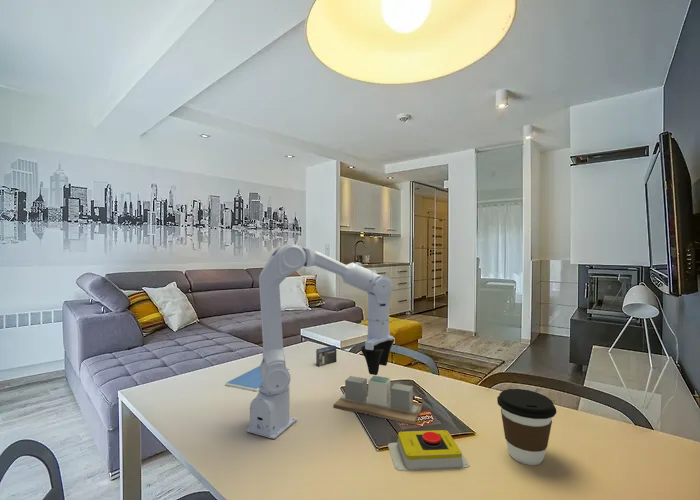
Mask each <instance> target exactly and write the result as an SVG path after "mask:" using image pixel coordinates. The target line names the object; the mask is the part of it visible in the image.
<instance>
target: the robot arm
mask: <svg viewBox="0 0 700 500" xmlns="http://www.w3.org/2000/svg"><path fill="white" fill-rule="evenodd" d="M362 265H363V264H362V263H360V262H350V263H348V264H344V263H342V262H340V261H338V260H336V259H335V258H332V257H330V256H328V255H325V254H323V253H322V252H320V251H317V250H316V249H313V248H312V249H311V248H308V247H304V246H300V245H299V244H296V243H295V244H294V243H293V244H292V243H290V244H286V243H285V244H282V245H279V247H278V248H276V249H275V250H274V251H273V252H272V253H271V254H270V256H269V259H267V262H266V264H265V265H264V267H263V268H262V270H261V271H260V274H259V277H258V283H259V299H260V300H259V301H260V315H261V316H260V317H261V319H260V320H261V332H262V333H261V335H262V361H261V363H260V365H259V366H260V374H261V376H262V379H263V381H262V383H261V385H260V386H259V391H257V395H256V396H255V398H253V399H252V400H251V402H250V404H249V427H248V428H247V429H246V431H247V432H248V433H251V434H255V435H258V436H262V437H266V438H269V439H273V440H274V439H277V437H279V436H280V435H281V434H282V433H283V432H285V431H286V430H287V429H288V428H290V427H291V426H292V425H293V424H294V423H296V422H297V421H298V418H297V417H294V416H290V412H291V411H290V403H291V402H290V400H291V399H290V391H291V390H290V383H291V374H290V372H289V371H288V370H287V369H288V368H287V366H286V356H285V353H284V352H285V351H284V341H283V337H284V336H283V327H282V325H283V323H282V309H281V292H280V291H281V290H280V286H281V283H282V282H283V281H284V280H286V279H287V278H288V276H290V275H291V274H293V273H295V272H297V271H300V269H302V268H303V267H306V268H309V267H314V266H315V267H317V268H320V269H322V270H325V271H328V272H331V273H333V274H335V275H338V276H340V277H341V279H342V281H343V283H344V284H346V285H349V286H351V287H354V288H356V289H359V290H361V291H363V292H366V293H367V335H366V341H365V342H364V345H363V346H361V347H360V349H361V350H360V351H361V353H362V355H363V356H364V359H365V361H366V366H367V369H368V370H367V371H368V374H369V375H372V376H378V373H379V370H380V366H384V367H386V366H387V365H388V361H389V356H390V353H391V349H392V346H393V344H394V342H395V338H394V336H393V335H391V330H390V296H391V294H392V293H393V291H394V288H395V287H394V285H393V283H392V280H391V279H390V278H389V277H388V276H387V275H382V274H378V271H377V270H375V269H372V270H371V269H368V268H366V267H365V266H364V267H363V266H362Z"/></svg>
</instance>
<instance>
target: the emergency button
mask: <svg viewBox="0 0 700 500" xmlns="http://www.w3.org/2000/svg"><path fill="white" fill-rule="evenodd" d="M387 448H388V450H389V454H390V457H391V461H392V464H393V467H394V470H396V471H398V472H399V471H400V472H401V471H405V472H406V471H426V470H429V471H430V470H450V469H452V470H453V469H454V470H455V469H467V468H469V467H470V463H469V462H468V461H467V459H466V457H465V455H464V454H463V453H462V450H461V449H460V448H459V445H458V444H457V443H456V441H455V440H454V438H453V437H452V435H451V434H450V432H449V431H448V430H446V429H445V430H444V429H441V430H438V429H436V430H413V431H412V430H411V431H409V430H408V431H406V430H405V431H399V432H398V434H397V442H389V443H387Z"/></svg>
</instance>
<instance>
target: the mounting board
mask: <svg viewBox="0 0 700 500" xmlns="http://www.w3.org/2000/svg"><path fill="white" fill-rule="evenodd" d="M367 397H368V393H367ZM390 401H391V397H390ZM413 405H414V406H418V411H417V413H416V415H413V414H408V413H403V412H398V411H393V410H388V409H383V408H378V407H373V406H368V405H363V404H358V403H353V402H348V401H343V400H340V398H339V399H337V401H335V403H333V408H335V409H339V410H344V411H348V412H353V413H357V412H360V413H359V414H362V413H364V414H363V415H367V414H369V415H368V416H372V415H373V416H372V417H376V416H377V418H381V419H387V420H391V421H396V422H400V423H405V424H409V425H415V424H416V422H417V420H418V418H419V416H420V414H421V412H422V410H423V407H424V404H423V403H418V402H414V401H413Z"/></svg>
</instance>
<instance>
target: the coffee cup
mask: <svg viewBox="0 0 700 500" xmlns="http://www.w3.org/2000/svg"><path fill="white" fill-rule="evenodd" d="M496 398H497V405H498V406H499V407H500V413H501V420H502V427H503V433H504V439H505V440H506V446H507V451H508V453H509V455H510V456H511V458H512V459H513V460H515V461H517V462H518V463H521V464H523V465H529V466H538V465H540V464H541V463H542V462H543V460H544V459H545V456H546V450H547V448H548V445H549V438H550V434H551V429H552V423H553V421H552V418H554V417H555V416H556V415H557V408H556V406H555V404H554V401H553V400H551V398H549V397H548V396H545V395H544V394H541V393H540V392H537V391H533V390H529V389H522V388H509V389H503V390H502V391H501V392H500V393H499V395H498V396H497V397H496Z"/></svg>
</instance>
